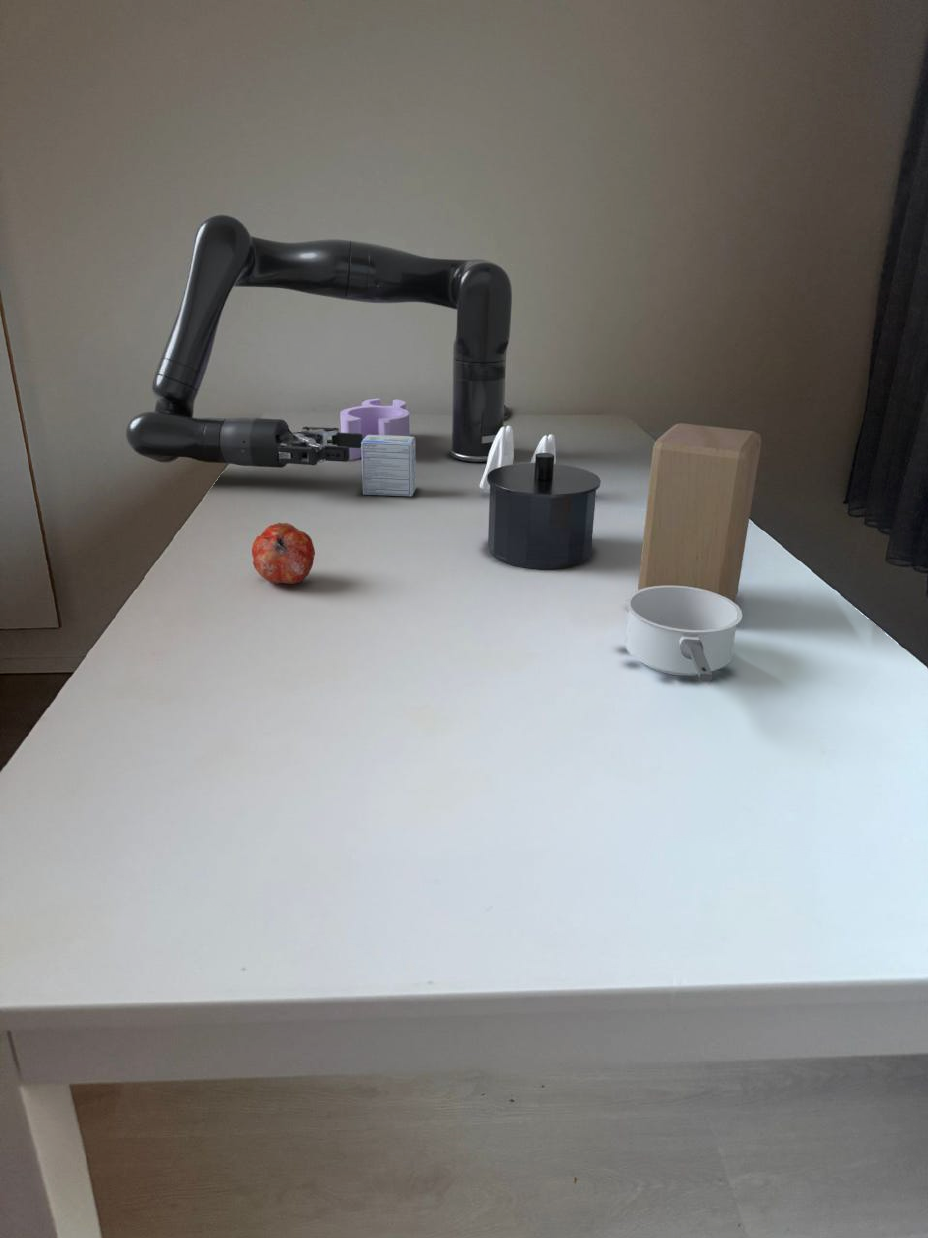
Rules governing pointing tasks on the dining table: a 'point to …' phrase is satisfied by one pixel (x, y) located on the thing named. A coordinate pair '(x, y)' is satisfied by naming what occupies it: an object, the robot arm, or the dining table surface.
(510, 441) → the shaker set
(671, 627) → the saucepan
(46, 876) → the dining table surface
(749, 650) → the dining table surface
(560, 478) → the pot lid
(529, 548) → the pot
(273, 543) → the pomegranate
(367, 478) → the medicine box
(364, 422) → the clip
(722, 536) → the wooden block
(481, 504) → the dining table surface
